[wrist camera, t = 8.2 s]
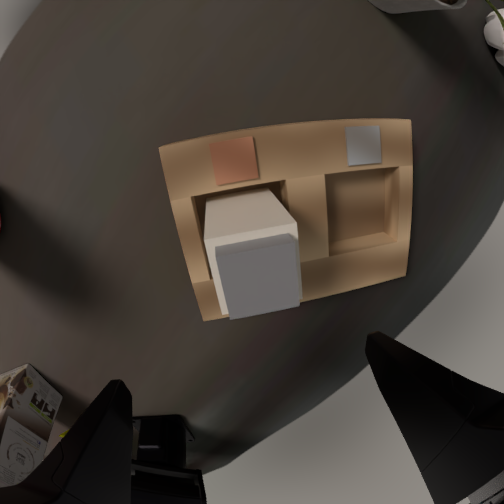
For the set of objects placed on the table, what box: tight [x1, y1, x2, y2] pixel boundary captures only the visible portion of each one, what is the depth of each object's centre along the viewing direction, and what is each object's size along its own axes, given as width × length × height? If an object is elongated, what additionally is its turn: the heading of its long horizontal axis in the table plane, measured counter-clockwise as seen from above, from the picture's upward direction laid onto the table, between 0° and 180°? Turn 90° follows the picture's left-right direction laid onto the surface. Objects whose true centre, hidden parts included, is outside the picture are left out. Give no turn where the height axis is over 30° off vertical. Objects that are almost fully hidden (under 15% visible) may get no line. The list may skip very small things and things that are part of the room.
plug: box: [204, 187, 303, 320], centre depth 16 cm, size 4×4×8 cm
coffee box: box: [0, 364, 63, 487], centre depth 18 cm, size 9×6×16 cm
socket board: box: [159, 118, 413, 321], centre depth 19 cm, size 12×16×3 cm
